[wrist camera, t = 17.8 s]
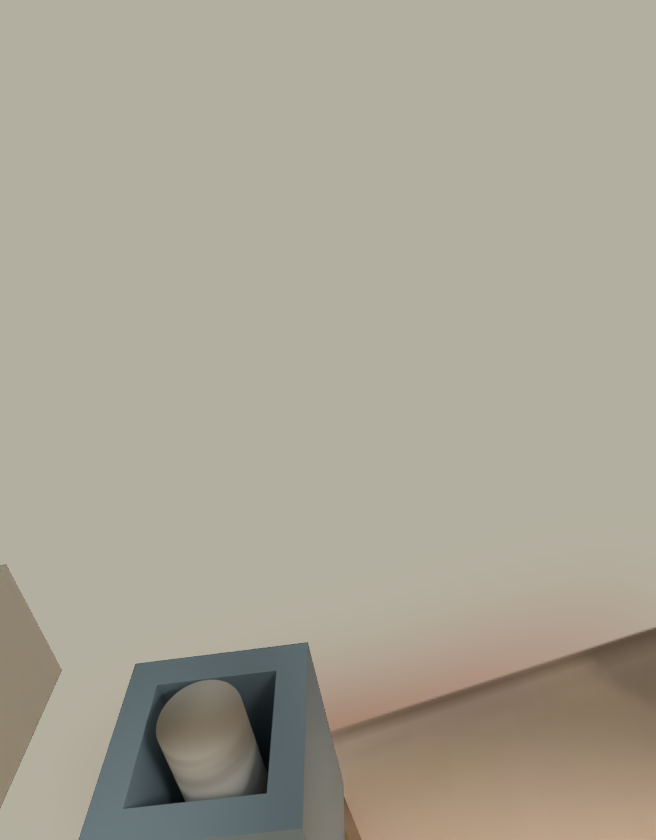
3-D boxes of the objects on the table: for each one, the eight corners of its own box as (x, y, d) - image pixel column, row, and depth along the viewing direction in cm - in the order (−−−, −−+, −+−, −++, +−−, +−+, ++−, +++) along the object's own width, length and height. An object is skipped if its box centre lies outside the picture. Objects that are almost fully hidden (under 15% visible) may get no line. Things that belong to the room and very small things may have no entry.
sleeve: (348, 972, 27) (302, 828, 22) (161, 988, 28) (74, 852, 23) (343, 782, 35) (307, 642, 30) (195, 798, 35) (135, 663, 30)
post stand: (423, 998, 31) (375, 775, 22) (204, 1125, 28) (59, 926, 20) (341, 796, 40) (287, 585, 32) (172, 877, 38) (64, 671, 29)
